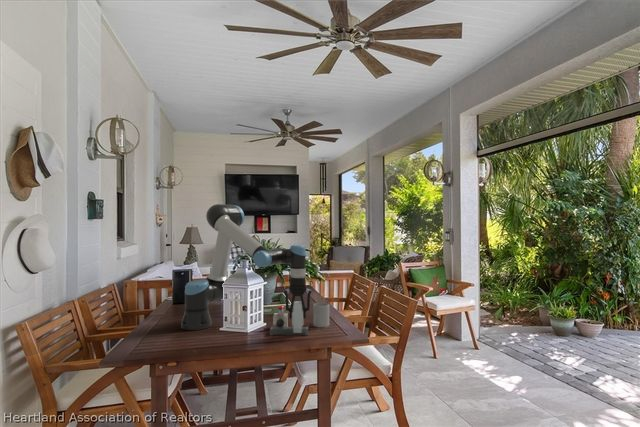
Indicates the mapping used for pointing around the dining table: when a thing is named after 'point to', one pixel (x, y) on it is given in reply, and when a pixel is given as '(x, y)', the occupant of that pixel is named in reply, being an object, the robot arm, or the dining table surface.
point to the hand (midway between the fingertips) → (297, 324)
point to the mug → (321, 315)
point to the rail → (287, 331)
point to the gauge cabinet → (280, 320)
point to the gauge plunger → (280, 310)
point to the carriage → (297, 317)
